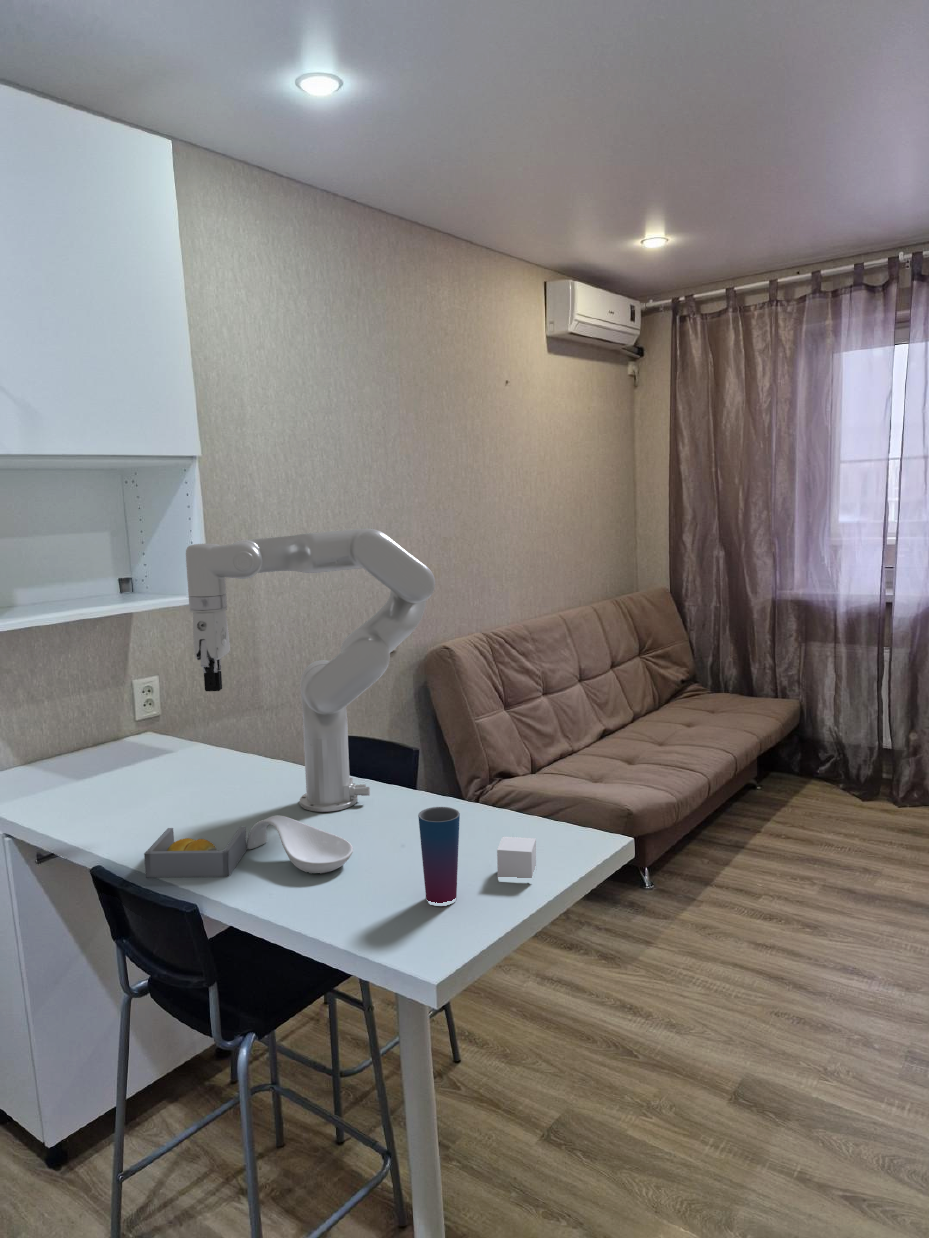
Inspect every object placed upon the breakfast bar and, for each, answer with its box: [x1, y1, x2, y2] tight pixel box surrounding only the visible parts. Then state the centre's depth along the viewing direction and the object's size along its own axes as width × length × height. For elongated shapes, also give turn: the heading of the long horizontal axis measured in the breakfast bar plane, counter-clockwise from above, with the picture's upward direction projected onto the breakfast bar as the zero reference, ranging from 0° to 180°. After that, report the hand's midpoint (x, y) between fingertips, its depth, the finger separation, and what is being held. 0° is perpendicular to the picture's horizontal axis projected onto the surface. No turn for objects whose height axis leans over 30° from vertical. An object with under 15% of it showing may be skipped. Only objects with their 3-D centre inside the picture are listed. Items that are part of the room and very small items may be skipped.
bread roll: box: [167, 837, 217, 851], centre depth 164 cm, size 8×9×4 cm
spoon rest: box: [246, 814, 354, 874], centre depth 163 cm, size 24×12×7 cm, turn 55°
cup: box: [417, 806, 461, 903], centre depth 145 cm, size 7×7×15 cm
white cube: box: [496, 836, 537, 878], centre depth 154 cm, size 6×6×6 cm
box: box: [143, 826, 248, 878], centre depth 163 cm, size 15×12×4 cm
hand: (213, 690), depth 184 cm, fingers closed
